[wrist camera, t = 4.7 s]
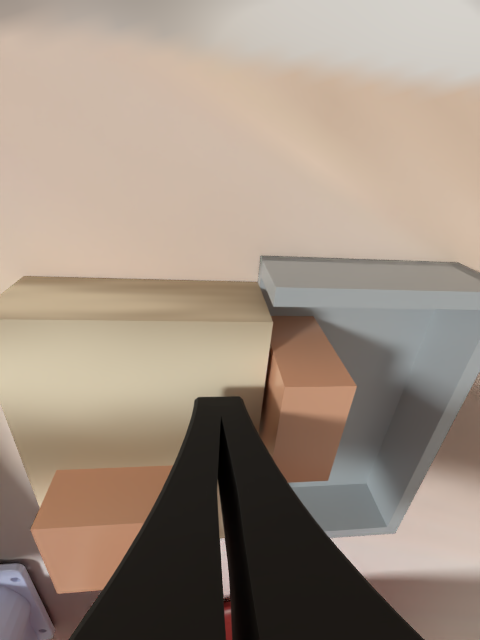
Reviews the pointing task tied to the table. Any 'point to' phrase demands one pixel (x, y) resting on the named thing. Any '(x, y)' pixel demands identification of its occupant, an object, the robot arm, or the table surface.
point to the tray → (383, 373)
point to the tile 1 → (93, 522)
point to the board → (123, 367)
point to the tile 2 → (304, 400)
